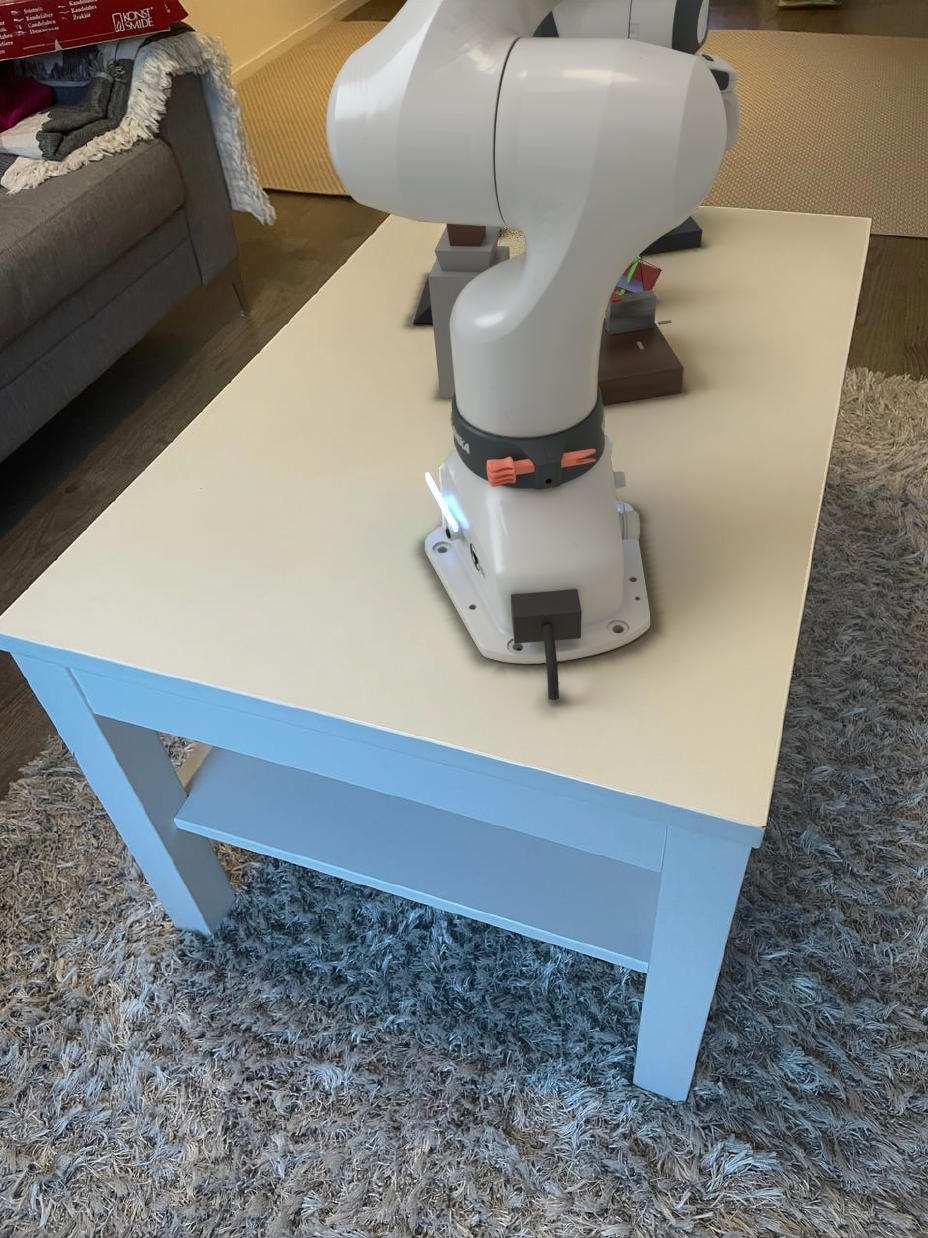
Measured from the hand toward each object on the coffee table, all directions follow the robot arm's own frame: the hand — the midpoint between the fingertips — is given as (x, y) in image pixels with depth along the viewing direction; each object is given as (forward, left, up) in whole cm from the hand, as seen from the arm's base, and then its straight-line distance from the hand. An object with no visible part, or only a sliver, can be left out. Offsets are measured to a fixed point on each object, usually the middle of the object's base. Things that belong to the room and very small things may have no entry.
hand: (650, 194), depth 122 cm
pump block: (0, 0, -5) cm, 5 cm away
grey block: (-28, +11, -2) cm, 30 cm away
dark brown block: (-30, +12, -5) cm, 33 cm away
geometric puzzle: (-17, +8, -5) cm, 20 cm away
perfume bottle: (-29, +28, -5) cm, 41 cm away
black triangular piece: (-10, +28, -5) cm, 30 cm away
